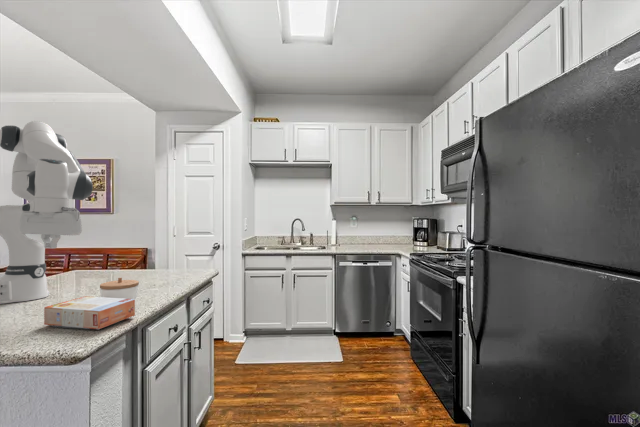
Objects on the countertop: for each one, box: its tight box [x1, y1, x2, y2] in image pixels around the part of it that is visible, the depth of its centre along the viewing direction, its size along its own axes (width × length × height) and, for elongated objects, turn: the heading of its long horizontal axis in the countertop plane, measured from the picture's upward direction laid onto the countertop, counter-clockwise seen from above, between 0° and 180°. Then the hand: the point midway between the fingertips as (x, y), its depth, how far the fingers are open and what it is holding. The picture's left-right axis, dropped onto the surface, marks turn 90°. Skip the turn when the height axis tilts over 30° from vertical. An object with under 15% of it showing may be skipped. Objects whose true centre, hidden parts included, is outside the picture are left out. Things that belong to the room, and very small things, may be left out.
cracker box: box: [43, 295, 136, 330], centre depth 103 cm, size 14×6×21 cm
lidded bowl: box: [99, 277, 140, 300], centre depth 121 cm, size 13×13×11 cm
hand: (50, 248), depth 106 cm, fingers closed
